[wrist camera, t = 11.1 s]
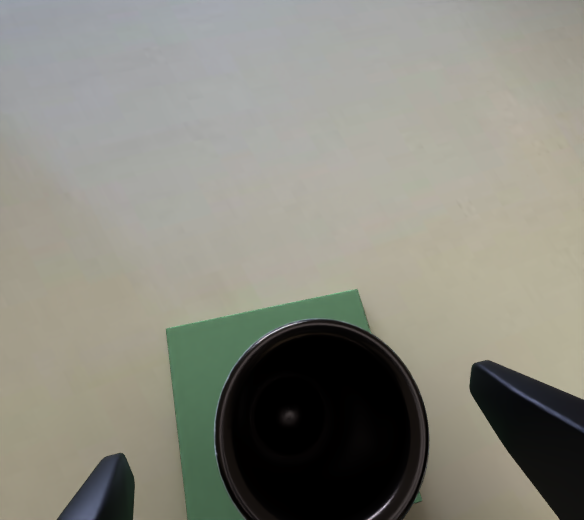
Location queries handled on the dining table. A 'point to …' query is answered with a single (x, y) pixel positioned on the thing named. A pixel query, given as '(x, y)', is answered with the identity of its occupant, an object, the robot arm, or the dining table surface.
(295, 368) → the grey tumbler
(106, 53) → the dining table surface
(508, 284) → the dining table surface
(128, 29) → the dining table surface
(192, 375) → the green mat
